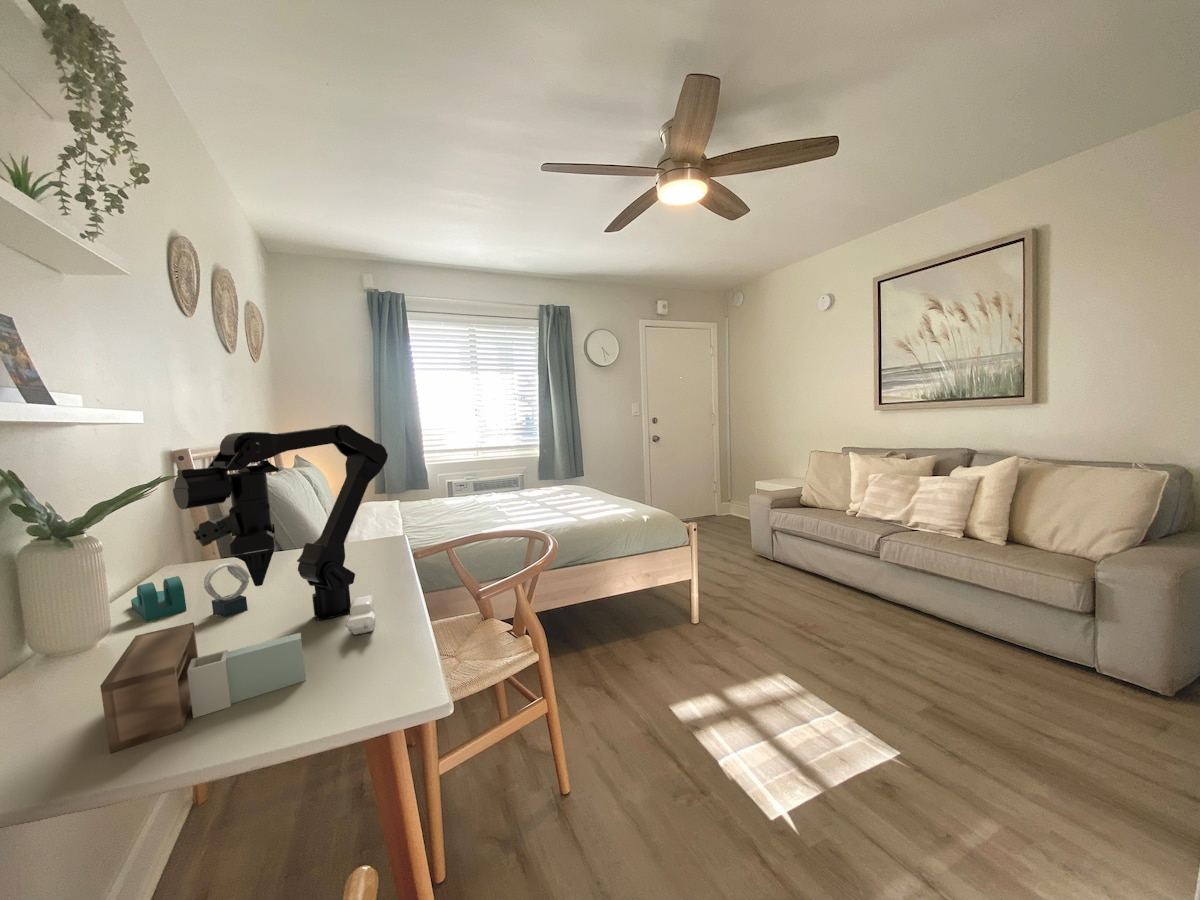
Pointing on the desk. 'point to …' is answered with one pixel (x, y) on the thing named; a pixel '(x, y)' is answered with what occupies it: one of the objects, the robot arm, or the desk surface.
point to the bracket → (159, 600)
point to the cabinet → (149, 687)
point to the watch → (231, 602)
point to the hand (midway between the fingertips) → (259, 579)
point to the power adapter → (361, 615)
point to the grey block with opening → (244, 673)
